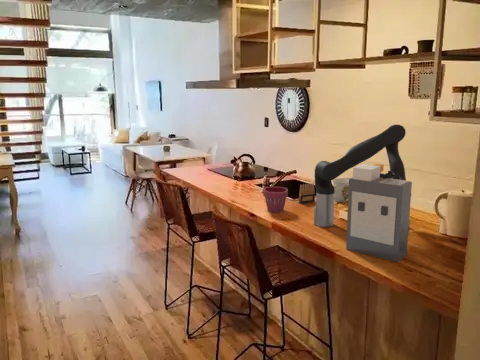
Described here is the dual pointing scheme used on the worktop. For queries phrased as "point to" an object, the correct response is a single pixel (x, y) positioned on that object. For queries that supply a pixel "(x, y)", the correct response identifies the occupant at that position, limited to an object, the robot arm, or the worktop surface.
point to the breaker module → (367, 172)
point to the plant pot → (275, 198)
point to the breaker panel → (379, 217)
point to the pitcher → (341, 189)
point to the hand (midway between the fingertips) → (379, 171)
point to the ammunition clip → (307, 194)
